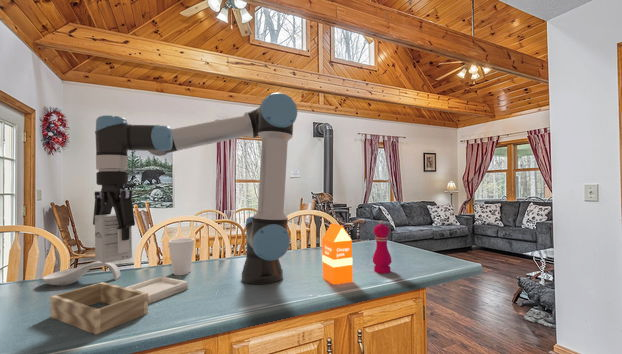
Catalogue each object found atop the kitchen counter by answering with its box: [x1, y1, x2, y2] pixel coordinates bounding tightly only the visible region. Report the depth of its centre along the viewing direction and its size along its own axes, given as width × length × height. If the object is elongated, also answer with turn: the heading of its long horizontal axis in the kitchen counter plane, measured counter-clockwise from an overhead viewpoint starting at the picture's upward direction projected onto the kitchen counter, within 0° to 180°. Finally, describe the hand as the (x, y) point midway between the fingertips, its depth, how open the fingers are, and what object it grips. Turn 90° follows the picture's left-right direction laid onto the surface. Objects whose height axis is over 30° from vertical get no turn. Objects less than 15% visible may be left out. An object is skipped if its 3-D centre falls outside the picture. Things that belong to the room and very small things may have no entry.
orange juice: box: [321, 222, 354, 286], centre depth 109 cm, size 8×9×20 cm
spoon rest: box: [41, 260, 121, 287], centre depth 111 cm, size 24×12×7 cm, turn 106°
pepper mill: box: [372, 220, 393, 274], centre depth 118 cm, size 7×7×20 cm
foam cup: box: [168, 237, 195, 276], centre depth 120 cm, size 10×9×13 cm
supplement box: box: [94, 213, 133, 263], centre depth 85 cm, size 7×7×13 cm
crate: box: [49, 281, 149, 335], centre depth 82 cm, size 22×13×6 cm, turn 62°
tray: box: [125, 275, 189, 305], centre depth 98 cm, size 14×14×2 cm
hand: (113, 250), depth 85 cm, fingers closed on supplement box, 8 cm apart
